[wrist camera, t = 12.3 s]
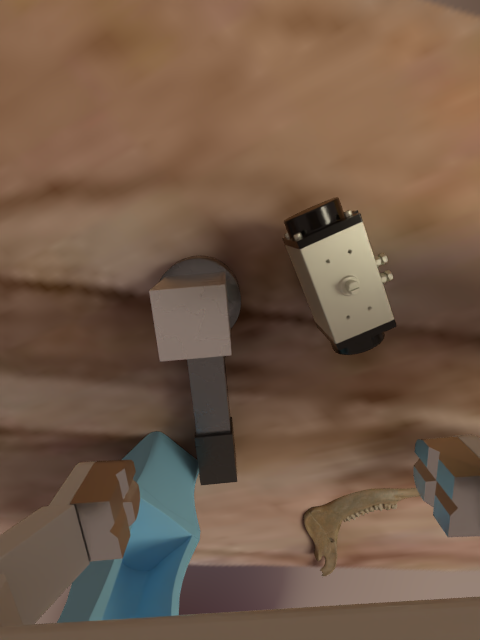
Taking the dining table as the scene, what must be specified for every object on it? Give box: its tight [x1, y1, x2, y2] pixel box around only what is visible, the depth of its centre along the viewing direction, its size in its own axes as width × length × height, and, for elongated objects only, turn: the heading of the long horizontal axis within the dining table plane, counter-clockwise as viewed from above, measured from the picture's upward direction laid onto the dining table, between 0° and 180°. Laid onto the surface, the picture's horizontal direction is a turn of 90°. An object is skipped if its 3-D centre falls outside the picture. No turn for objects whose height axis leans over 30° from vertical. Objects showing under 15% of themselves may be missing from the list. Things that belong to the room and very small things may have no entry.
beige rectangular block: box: [149, 271, 232, 362], centre depth 28 cm, size 5×5×7 cm
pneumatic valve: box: [282, 197, 397, 355], centre depth 29 cm, size 6×12×12 cm, turn 24°
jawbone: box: [304, 488, 420, 576], centre depth 43 cm, size 9×20×2 cm, turn 129°
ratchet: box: [159, 256, 241, 485], centre depth 34 cm, size 8×24×8 cm, turn 4°
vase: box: [57, 431, 200, 623], centre depth 31 cm, size 8×8×20 cm
